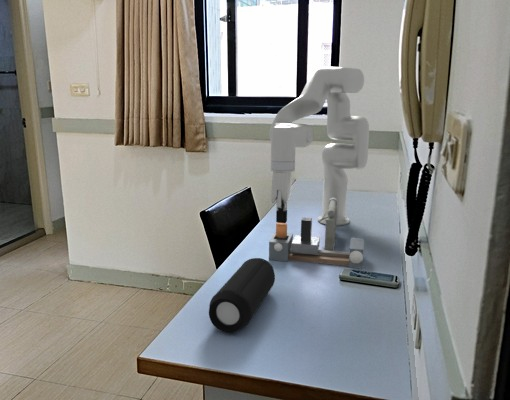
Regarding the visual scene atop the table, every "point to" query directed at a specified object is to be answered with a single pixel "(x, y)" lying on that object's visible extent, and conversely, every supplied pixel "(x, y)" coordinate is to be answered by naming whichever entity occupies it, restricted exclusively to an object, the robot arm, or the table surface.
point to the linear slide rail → (281, 246)
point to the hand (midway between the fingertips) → (281, 222)
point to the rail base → (322, 257)
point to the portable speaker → (241, 295)
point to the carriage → (305, 239)
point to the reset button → (281, 230)
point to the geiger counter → (330, 224)
